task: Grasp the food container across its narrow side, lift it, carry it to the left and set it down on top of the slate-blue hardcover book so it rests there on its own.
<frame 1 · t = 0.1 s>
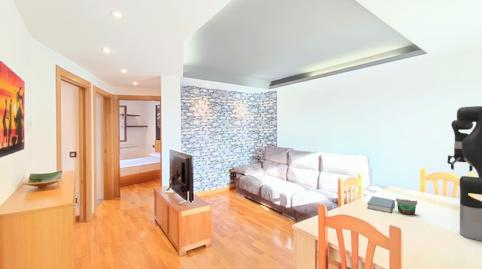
hand: (461, 170, 150), 29 cm above the table, fingers open, 8 cm apart
food container: (407, 214, 148), on the table
book: (381, 206, 162), on the table
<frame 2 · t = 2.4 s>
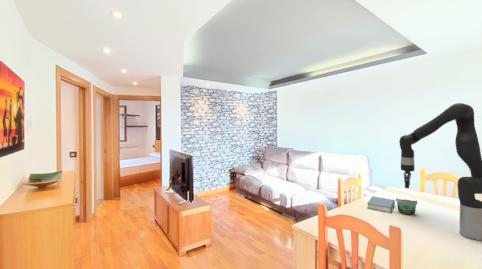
hand: (407, 186, 147), 19 cm above the table, fingers open, 8 cm apart
nothing on the table moved.
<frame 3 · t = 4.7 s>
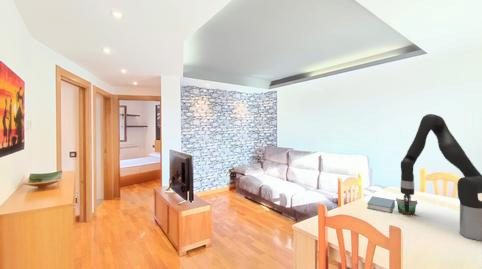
hand: (407, 210, 148), 2 cm above the table, fingers closed on food container, 5 cm apart
food container: (407, 214, 148), on the table, touching gripper
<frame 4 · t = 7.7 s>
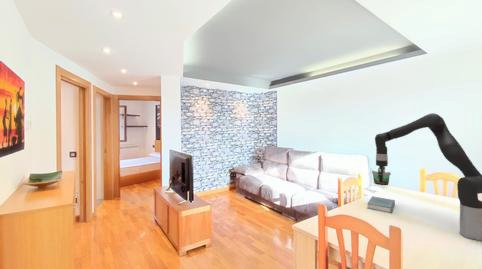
hand: (381, 181, 162), 20 cm above the table, fingers closed on food container, 5 cm apart
food container: (381, 184, 161), point 17 cm above the table, touching gripper
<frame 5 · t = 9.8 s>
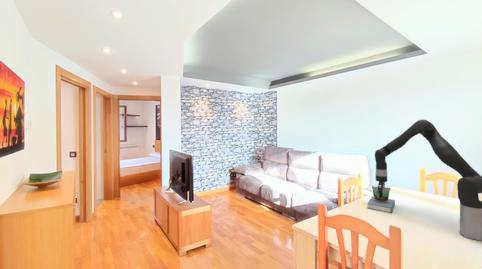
hand: (381, 196, 162), 8 cm above the table, fingers closed on food container, 5 cm apart
food container: (381, 200, 162), point 5 cm above the table, touching gripper
when the fingers open (7 cm above the table, at t = 10.9 s): food container stays where it is, resting on book.
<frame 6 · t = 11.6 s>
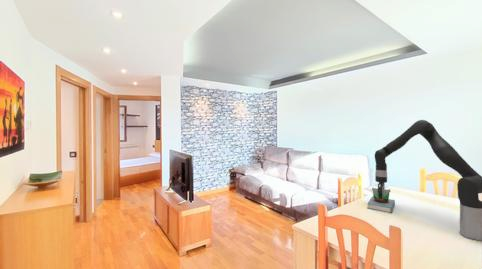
hand: (381, 196, 162), 8 cm above the table, fingers open, 8 cm apart
food container: (381, 202, 161), point 4 cm above the table, touching book, gripper
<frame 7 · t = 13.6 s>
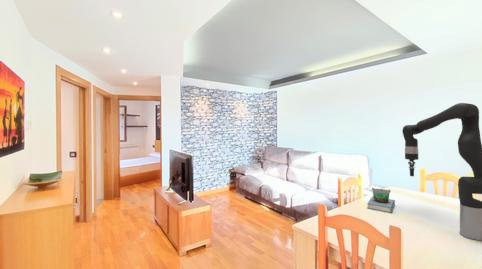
hand: (411, 175, 151), 26 cm above the table, fingers open, 8 cm apart
food container: (381, 202, 161), point 4 cm above the table, touching book
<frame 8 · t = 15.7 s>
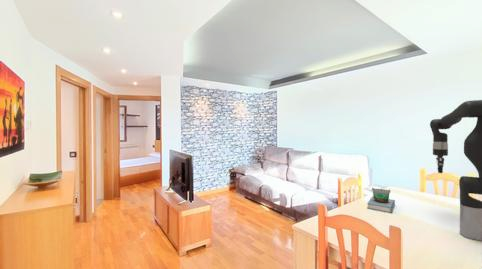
hand: (440, 171, 144), 30 cm above the table, fingers open, 8 cm apart
nothing on the table moved.
at the end: food container inside the target area on the book (1.5 cm from its centre), point 3.9 cm above the book's base; food container tilted 0°; the gripper is holding nothing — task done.
